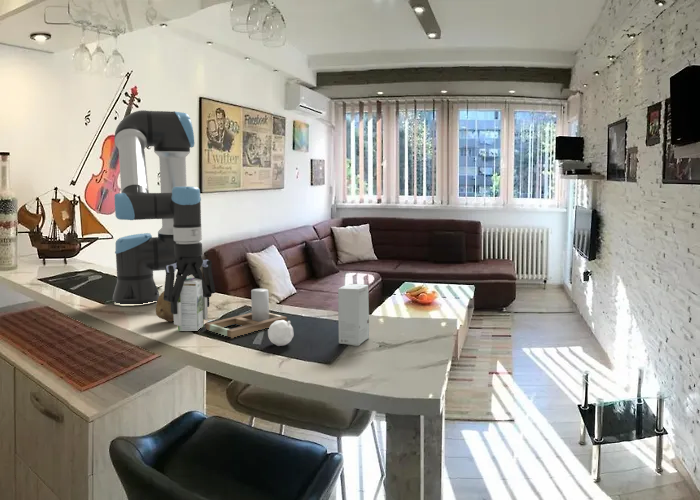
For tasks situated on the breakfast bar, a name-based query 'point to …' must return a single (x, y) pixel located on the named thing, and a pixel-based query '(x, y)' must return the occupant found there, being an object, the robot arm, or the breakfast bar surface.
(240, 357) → the breakfast bar surface
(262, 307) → the grey canister
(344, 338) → the skincare box
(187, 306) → the syrup box
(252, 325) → the socket board
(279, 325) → the ornament
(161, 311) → the brown potato
